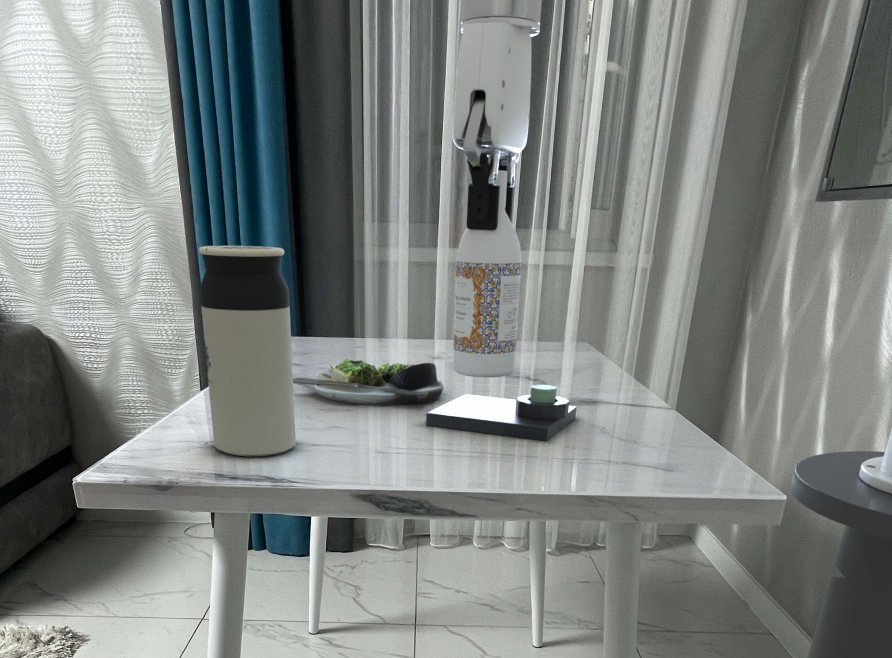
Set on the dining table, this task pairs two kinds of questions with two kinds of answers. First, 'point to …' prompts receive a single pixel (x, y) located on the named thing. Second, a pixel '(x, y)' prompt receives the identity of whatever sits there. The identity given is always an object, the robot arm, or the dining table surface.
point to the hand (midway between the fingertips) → (488, 227)
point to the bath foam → (487, 297)
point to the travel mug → (248, 349)
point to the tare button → (543, 393)
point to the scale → (504, 416)
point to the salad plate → (377, 383)
